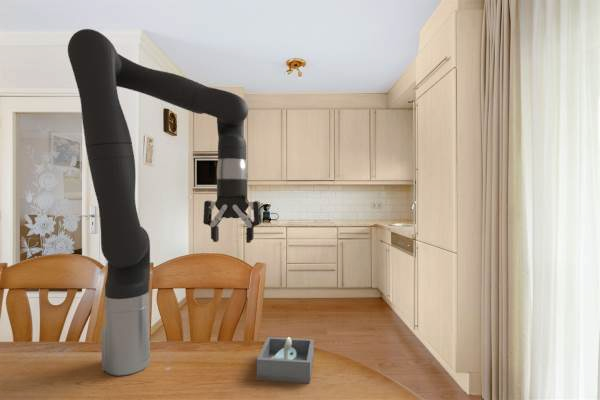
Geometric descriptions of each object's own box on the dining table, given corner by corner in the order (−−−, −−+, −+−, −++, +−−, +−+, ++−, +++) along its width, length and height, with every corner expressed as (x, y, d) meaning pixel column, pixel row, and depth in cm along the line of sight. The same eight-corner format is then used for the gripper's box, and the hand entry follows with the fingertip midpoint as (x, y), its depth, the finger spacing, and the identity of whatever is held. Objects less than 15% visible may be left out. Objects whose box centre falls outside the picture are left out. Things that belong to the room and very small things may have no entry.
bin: (256, 379, 78) (256, 359, 77) (267, 354, 89) (267, 337, 89) (309, 383, 76) (310, 362, 76) (313, 357, 88) (313, 339, 88)
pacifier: (265, 370, 80) (292, 372, 79) (265, 343, 80) (291, 344, 79) (273, 355, 87) (297, 356, 86) (273, 330, 87) (297, 331, 86)
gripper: (199, 177, 86) (199, 243, 87) (256, 177, 85) (256, 245, 85) (210, 178, 94) (210, 239, 94) (263, 178, 92) (263, 240, 93)
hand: (232, 242), depth 90 cm, fingers open, 8 cm apart
